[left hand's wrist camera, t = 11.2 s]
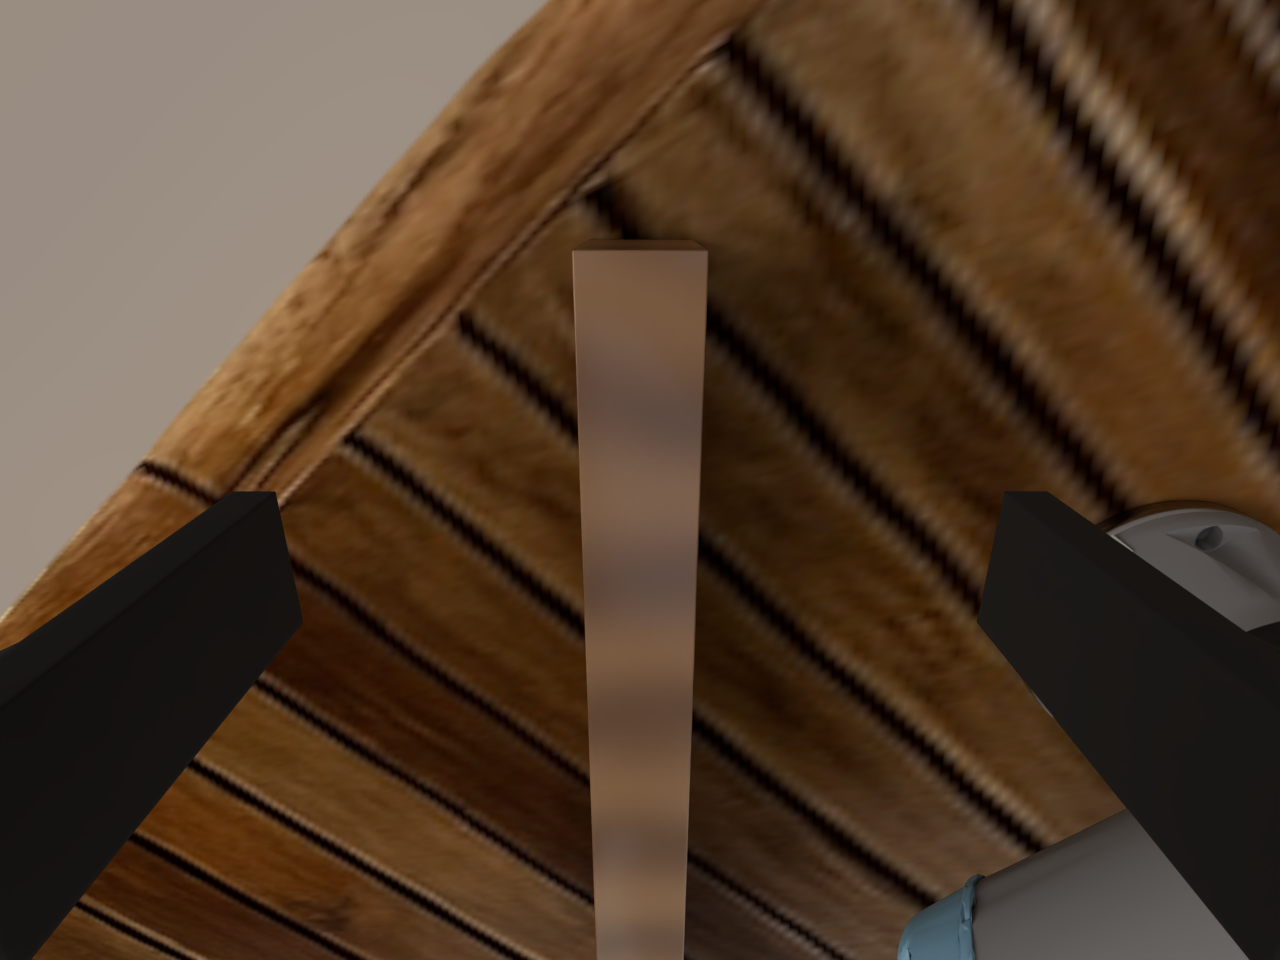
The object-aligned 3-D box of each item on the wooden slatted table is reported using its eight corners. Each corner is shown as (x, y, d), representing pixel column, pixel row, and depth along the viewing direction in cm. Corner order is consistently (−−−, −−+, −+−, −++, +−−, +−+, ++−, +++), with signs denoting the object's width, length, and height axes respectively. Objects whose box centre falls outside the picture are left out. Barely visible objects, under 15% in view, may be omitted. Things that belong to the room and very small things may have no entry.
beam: (587, 239, 32) (571, 249, 25) (693, 239, 32) (708, 249, 25) (608, 1035, 54) (603, 1165, 47) (671, 1035, 54) (676, 1165, 47)
